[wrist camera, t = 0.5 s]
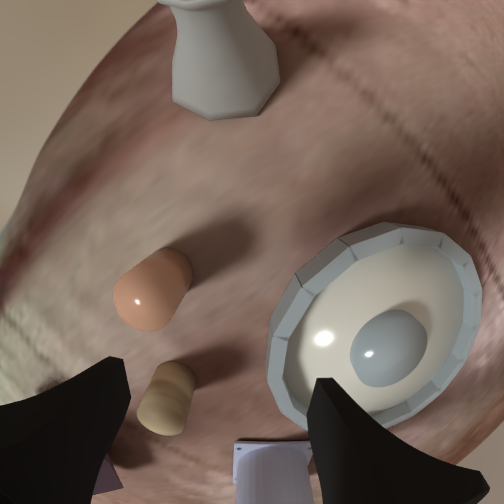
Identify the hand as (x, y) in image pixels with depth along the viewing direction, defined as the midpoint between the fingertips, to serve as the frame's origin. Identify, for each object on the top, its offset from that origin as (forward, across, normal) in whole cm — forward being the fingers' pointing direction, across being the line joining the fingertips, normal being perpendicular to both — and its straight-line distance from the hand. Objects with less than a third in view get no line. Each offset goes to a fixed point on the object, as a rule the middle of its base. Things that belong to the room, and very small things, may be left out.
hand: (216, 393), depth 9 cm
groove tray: (+10, -12, +3) cm, 15 cm away
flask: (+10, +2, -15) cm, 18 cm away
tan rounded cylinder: (+10, +4, +8) cm, 13 cm away
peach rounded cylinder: (+10, +4, -1) cm, 11 cm away
